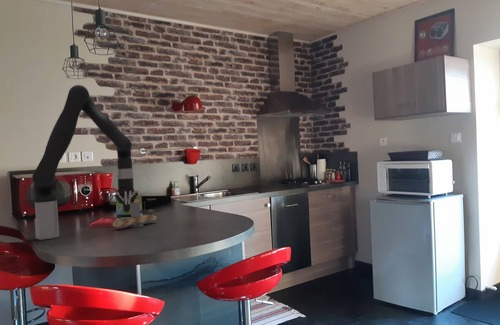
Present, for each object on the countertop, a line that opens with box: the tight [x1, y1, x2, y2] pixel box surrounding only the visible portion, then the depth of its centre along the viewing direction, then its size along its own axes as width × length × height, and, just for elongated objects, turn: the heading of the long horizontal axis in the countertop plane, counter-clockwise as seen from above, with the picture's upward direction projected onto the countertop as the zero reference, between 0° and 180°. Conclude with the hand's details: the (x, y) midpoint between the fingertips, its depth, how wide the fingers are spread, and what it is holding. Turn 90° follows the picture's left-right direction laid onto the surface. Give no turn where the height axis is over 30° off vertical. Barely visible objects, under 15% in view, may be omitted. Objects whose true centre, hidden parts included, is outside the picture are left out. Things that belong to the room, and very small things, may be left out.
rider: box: [131, 201, 141, 218], centre depth 201 cm, size 3×4×9 cm
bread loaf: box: [112, 209, 157, 229], centre depth 200 cm, size 22×7×7 cm, turn 136°
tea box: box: [115, 193, 143, 220], centre depth 218 cm, size 15×10×15 cm
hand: (126, 211), depth 197 cm, fingers closed
